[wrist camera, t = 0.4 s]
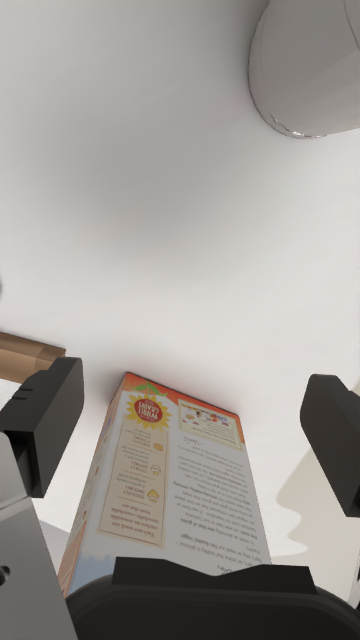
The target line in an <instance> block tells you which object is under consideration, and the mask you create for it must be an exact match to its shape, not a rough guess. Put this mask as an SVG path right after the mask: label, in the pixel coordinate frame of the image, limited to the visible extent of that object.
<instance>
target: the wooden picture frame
mask: <svg viewBox="0 0 360 640" xmlns="http://www.w3.org/2000/svg"><path fill="white" fill-rule="evenodd" d="M65 352H66V349H62V348H58V347H54V346H51V345H47V344H43V343H39V342H35V341H32V340H28V339H24V338H20V337H16V336H13V335H9V334H5V333H1V332H0V378H1V379H5V380H9V381H13V382H17V383H21V384H23V382H24V381H25V380H26V379H27V378H28V377H29V376H31V375H33V374H34V373H36V372H37V371H39V370H48V369H49V367H50V366H51V365H52V363H53V362H54V360H55V359H56V358H57V357H58V356H61V357H65Z"/></svg>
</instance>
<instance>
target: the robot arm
mask: <svg viewBox="0 0 360 640" xmlns="http://www.w3.org/2000/svg"><path fill="white" fill-rule="evenodd" d="M249 84H250V89H251V94H252V97H253V100H254V102H255V105H256V107H257V109H258V111H259V112H260V114H261V115H262V117H263V118H264V120H265V121H266V122H267V123H268V124H269V125H270V126H271V127H273V128H274V129H275V130H277V131H278V132H280V133H282V134H284V135H286V136H290V137H294V138H298V139H300V138H315V137H323V136H326V135H329V134H333V133H338V132H343V131H347V130H352V129H356V128H360V0H270V1H269V3H268V5H267V7H266V9H265V11H264V13H263V15H262V17H261V19H260V21H259V23H258V25H257V28H256V31H255V34H254V37H253V40H252V43H251V49H250V55H249ZM83 404H84V381H83V365H82V360H81V358H76V357H61V356H58V357H57V358H56V359H55V360H54V362H53V363H52V365H51V366H50V367H49V369H48V370H39V371H37V372H36V373H34V374H33V375H31V376H29V377H28V378H27V379H26V380H25V381H24V382H23V384H22V385H21V386H20V387H19V390H17V391H16V392H15V393H14V395H13V396H12V399H10V400H9V401H8V402H7V403H6V405H5V406H4V407H3V408H2V410H1V411H0V640H360V551H359V556H358V560H357V565H356V569H355V574H354V578H353V583H352V588H351V592H350V595H349V598H348V602H345V601H344V600H342V599H341V598H339V597H337V596H336V595H334V594H332V593H330V592H328V591H326V590H324V589H322V588H320V587H317V586H315V585H314V582H313V579H312V576H311V573H310V570H309V567H308V566H289V565H271V564H260V565H256V566H252V567H248V568H245V569H241V570H237V571H233V572H230V573H226V574H222V575H218V576H212V575H208V574H205V573H203V572H200V571H197V570H194V569H191V568H188V567H186V566H183V565H180V564H177V563H174V562H171V561H169V560H166V559H157V558H138V557H119V556H116V560H115V566H114V571H113V574H110V575H106V576H103V577H100V578H98V579H95V580H93V581H91V582H89V583H87V584H85V585H83V586H82V587H80V588H78V589H77V590H76V591H74V592H73V593H71V594H70V595H69V596H67V597H66V598H65V599H64V596H63V593H62V590H61V587H60V584H59V581H58V578H57V575H56V572H55V569H54V566H53V563H52V560H51V557H50V554H49V551H48V548H47V545H46V542H45V539H44V536H43V533H42V530H41V527H40V523H39V520H38V517H37V514H36V511H35V508H34V505H33V503H32V500H31V498H44V496H45V493H46V491H47V489H48V487H49V484H50V482H51V480H52V478H53V475H54V473H55V471H56V469H57V466H58V464H59V462H60V460H61V458H62V455H63V453H64V451H65V449H66V446H67V444H68V442H69V440H70V437H71V435H72V433H73V431H74V428H75V426H76V424H77V422H78V419H79V417H80V415H81V412H82V409H83ZM300 422H301V426H302V429H303V431H304V433H305V435H306V437H307V439H308V441H309V443H310V445H311V447H312V449H313V451H314V453H315V455H316V457H317V459H318V461H319V463H320V465H321V467H322V469H323V471H324V473H325V475H326V477H327V479H328V481H329V483H330V485H331V487H332V489H333V491H334V493H335V495H336V497H337V499H338V501H339V503H340V505H341V507H342V509H343V511H344V513H345V515H346V517H359V518H360V397H359V396H358V395H357V394H355V393H354V392H352V391H349V390H348V389H347V388H346V387H345V385H344V384H343V383H342V382H341V380H340V379H339V378H338V377H337V376H335V375H322V374H312V375H311V376H310V378H309V381H308V385H307V388H306V392H305V395H304V399H303V402H302V406H301V410H300Z"/></svg>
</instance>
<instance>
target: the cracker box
mask: <svg viewBox="0 0 360 640" xmlns="http://www.w3.org/2000/svg"><path fill="white" fill-rule="evenodd" d="M116 556H119V557H138V558H157V559H166V560H169V561H171V562H174V563H177V564H180V565H183V566H186V567H188V568H191V569H194V570H197V571H200V572H203V573H205V574H208V575H212V576H218V575H222V574H226V573H230V572H233V571H237V570H241V569H245V568H248V567H252V566H256V565H260V564H271V565H272V563H271V558H270V554H269V549H268V545H267V540H266V535H265V531H264V526H263V522H262V517H261V513H260V509H259V504H258V499H257V495H256V490H255V486H254V481H253V477H252V472H251V468H250V463H249V459H248V454H247V450H246V445H245V440H244V436H243V431H242V427H241V423H240V418H239V416H237V415H234V414H232V413H229V412H226V411H224V410H221V409H219V408H216V407H214V406H211V405H208V404H206V403H204V402H201V401H198V400H196V399H193V398H191V397H188V396H186V395H183V394H181V393H178V392H176V391H173V390H170V389H168V388H165V387H163V386H160V385H158V384H155V383H153V382H150V381H148V380H145V379H143V378H140V377H138V376H135V375H133V374H129V373H127V374H126V375H125V377H124V379H123V381H122V383H121V384H120V386H119V388H118V390H117V392H116V394H115V396H114V398H113V400H112V402H111V404H110V406H109V408H108V411H107V414H106V417H105V421H104V424H103V427H102V431H101V433H100V437H99V440H98V443H97V446H96V450H95V453H94V456H93V460H92V463H91V466H90V470H89V473H88V476H87V480H86V483H85V487H84V490H83V493H82V497H81V500H80V503H79V506H78V510H77V513H76V516H75V519H74V523H73V526H72V529H71V532H70V536H69V539H68V542H67V545H66V549H65V552H64V555H63V559H62V562H61V565H60V569H59V573H58V576H57V578H58V581H59V584H60V587H61V590H62V593H63V596H64V599H65V598H66V597H67V596H69V595H70V594H71V593H73V592H74V591H76V590H77V589H78V588H80V587H82V586H83V585H85V584H87V583H89V582H91V581H93V580H95V579H98V578H100V577H103V576H106V575H110V574H113V571H114V566H115V560H116Z"/></svg>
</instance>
